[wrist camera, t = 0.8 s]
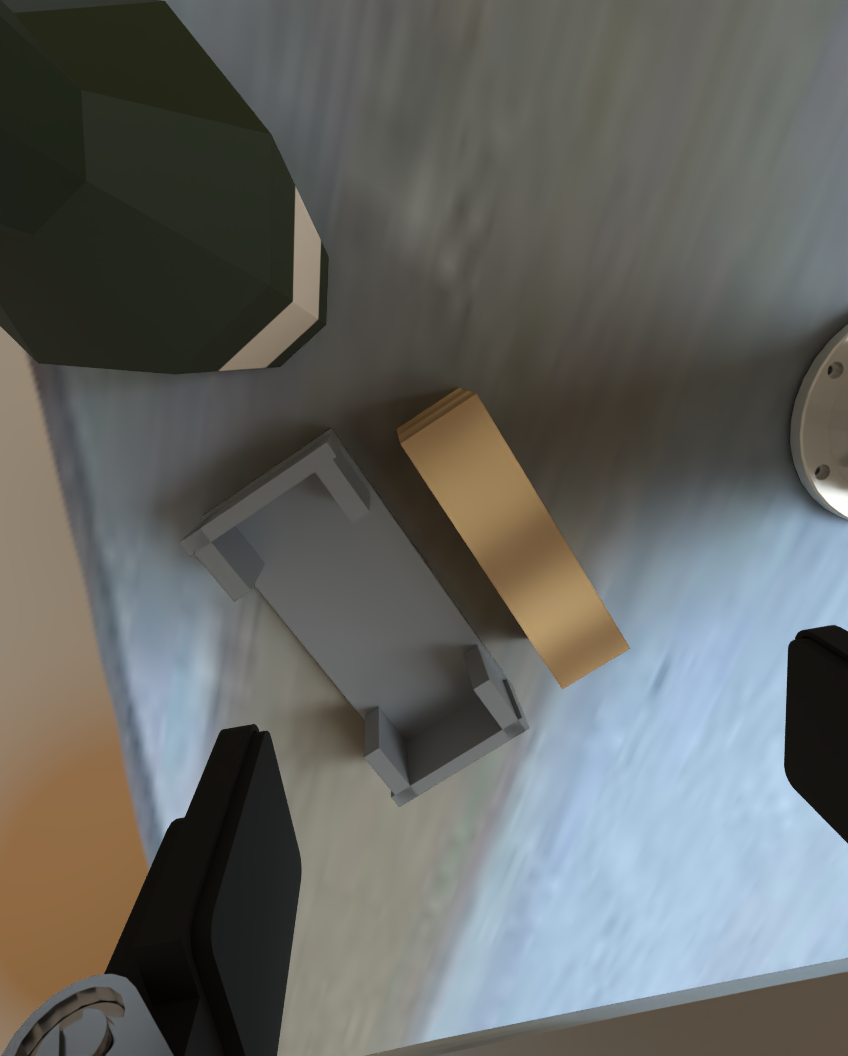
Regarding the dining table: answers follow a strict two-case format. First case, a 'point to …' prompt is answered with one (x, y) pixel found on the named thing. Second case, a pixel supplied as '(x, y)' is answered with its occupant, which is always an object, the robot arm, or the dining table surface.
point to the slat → (511, 535)
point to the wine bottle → (143, 200)
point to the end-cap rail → (364, 613)
